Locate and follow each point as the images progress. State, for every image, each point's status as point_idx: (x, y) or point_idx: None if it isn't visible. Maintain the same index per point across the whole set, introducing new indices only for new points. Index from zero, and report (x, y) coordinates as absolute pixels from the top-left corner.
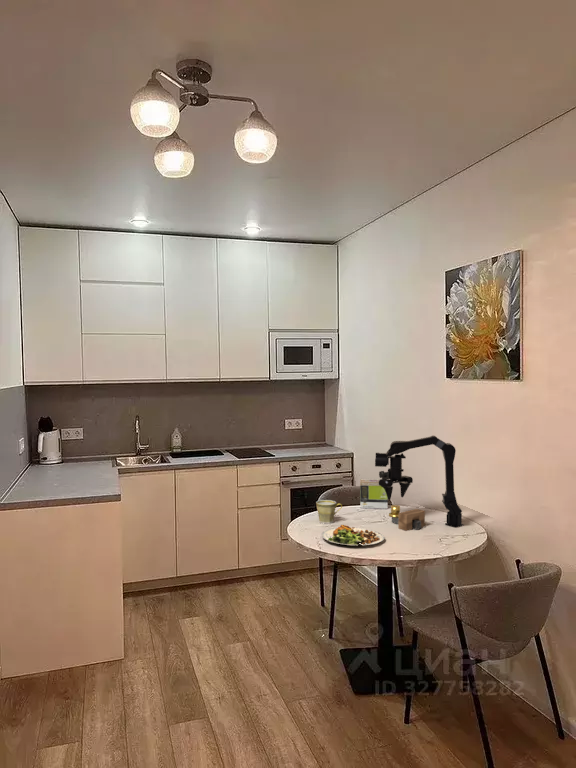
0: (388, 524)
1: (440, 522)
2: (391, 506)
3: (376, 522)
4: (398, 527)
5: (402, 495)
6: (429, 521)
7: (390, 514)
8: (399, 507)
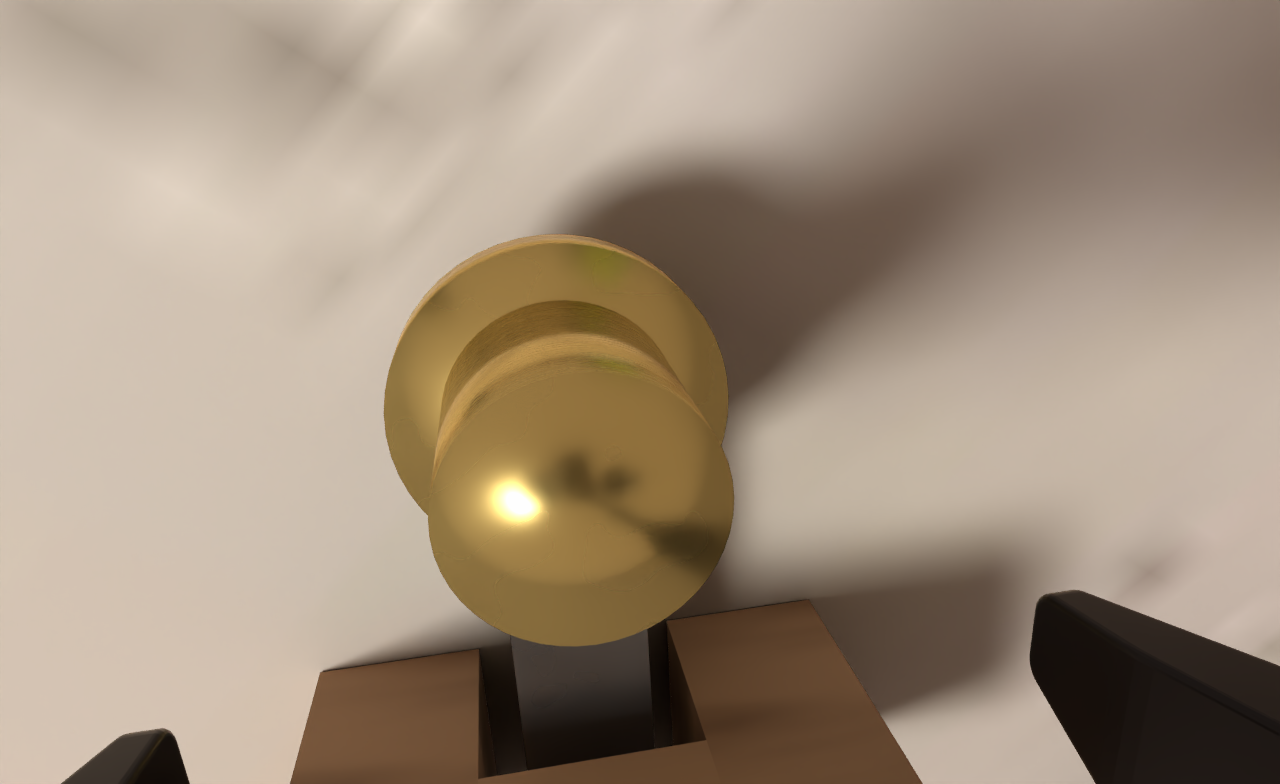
0: (324, 374)
1: None
2: (434, 484)
3: (155, 97)
4: (317, 685)
5: (1081, 720)
6: (1110, 561)
7: (414, 384)
8: (627, 622)
